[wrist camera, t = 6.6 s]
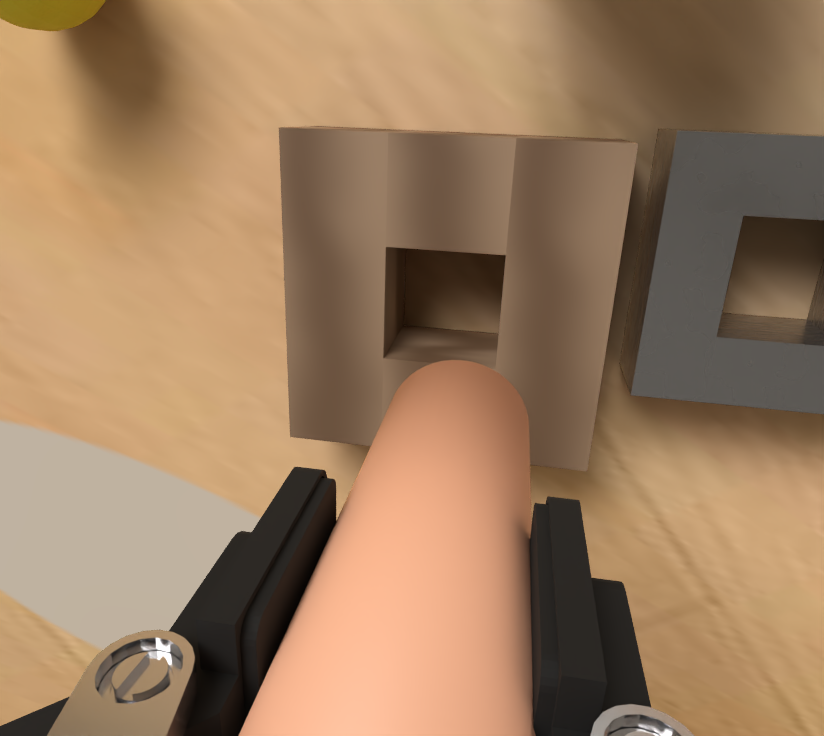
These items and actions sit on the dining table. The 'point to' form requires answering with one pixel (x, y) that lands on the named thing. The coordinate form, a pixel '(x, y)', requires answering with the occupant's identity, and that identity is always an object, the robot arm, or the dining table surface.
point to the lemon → (48, 13)
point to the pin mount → (721, 274)
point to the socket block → (459, 232)
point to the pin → (420, 578)
